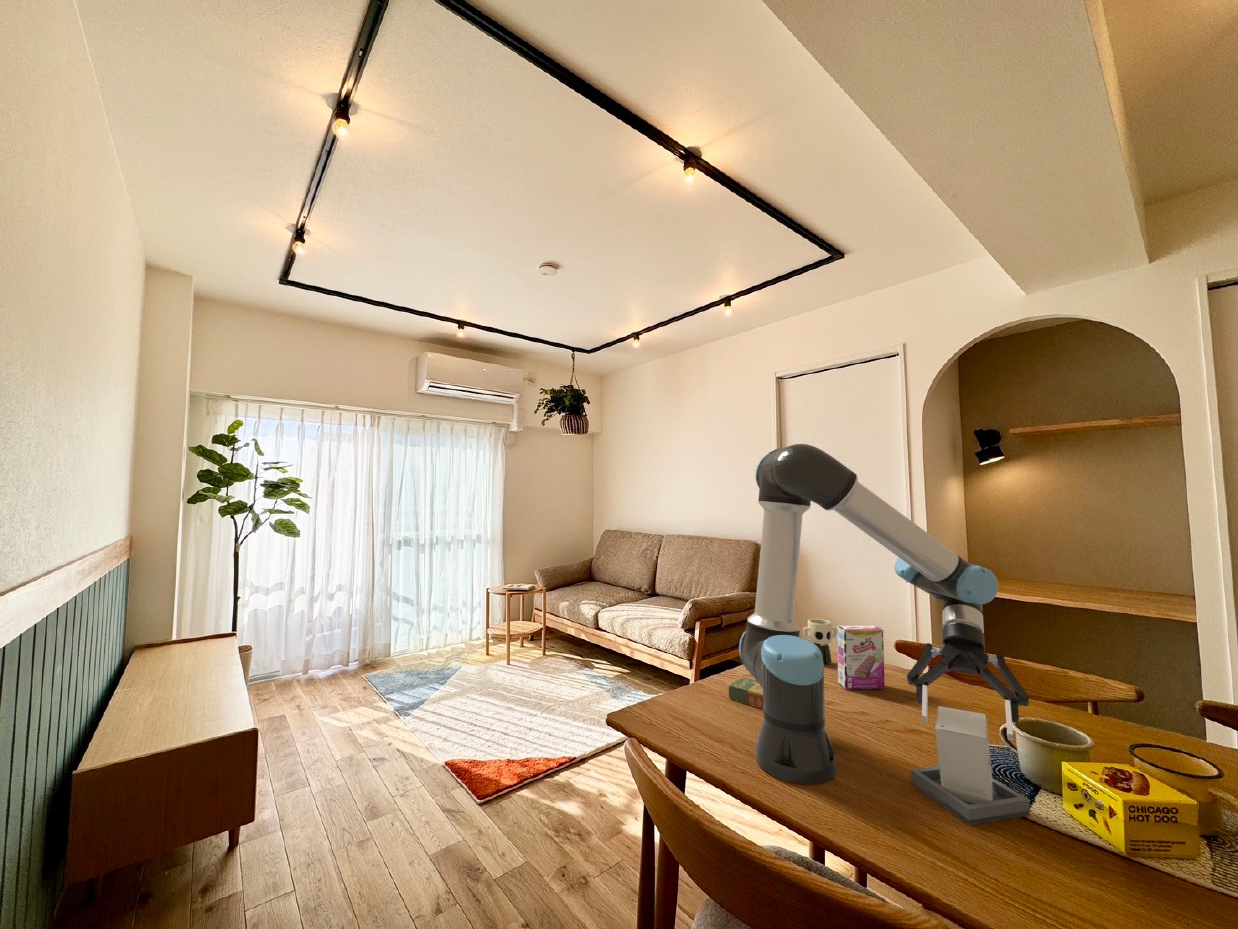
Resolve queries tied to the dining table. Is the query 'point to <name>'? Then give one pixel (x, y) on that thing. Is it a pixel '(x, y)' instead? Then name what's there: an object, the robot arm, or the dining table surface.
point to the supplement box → (964, 754)
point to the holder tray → (1000, 808)
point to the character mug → (821, 636)
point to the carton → (747, 692)
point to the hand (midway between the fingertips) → (965, 728)
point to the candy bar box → (860, 657)
